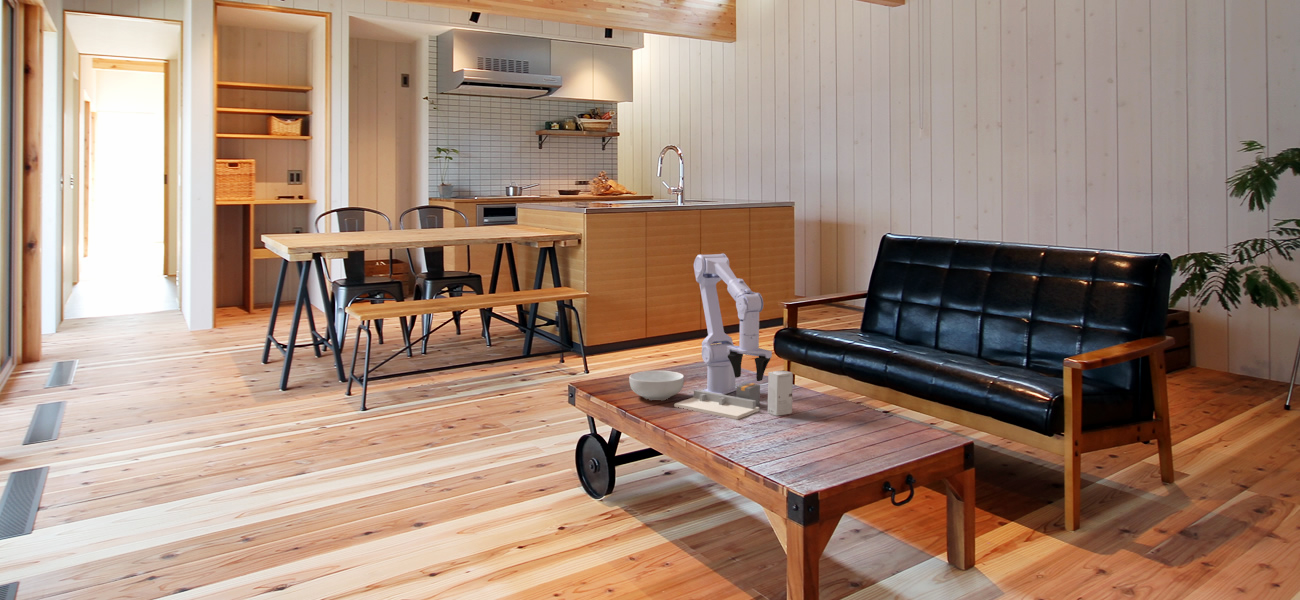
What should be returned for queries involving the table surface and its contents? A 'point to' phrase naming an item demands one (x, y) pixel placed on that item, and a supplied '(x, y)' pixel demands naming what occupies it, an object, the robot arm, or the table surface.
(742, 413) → the rail base
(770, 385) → the skincare box
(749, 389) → the block
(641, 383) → the cereal bowl
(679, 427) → the table surface
